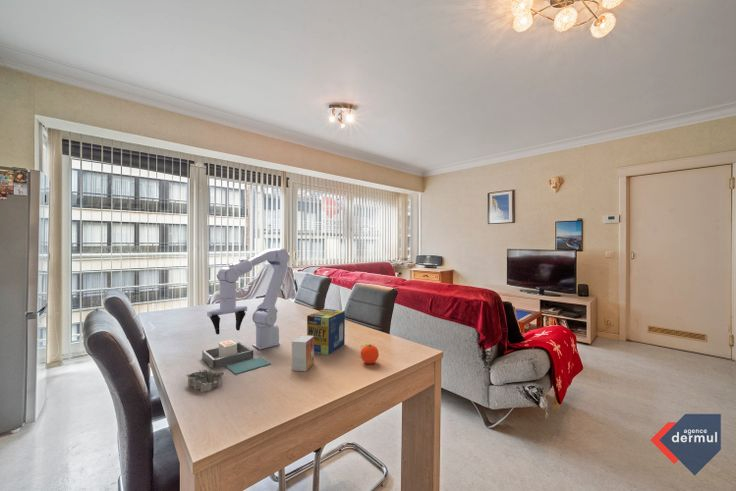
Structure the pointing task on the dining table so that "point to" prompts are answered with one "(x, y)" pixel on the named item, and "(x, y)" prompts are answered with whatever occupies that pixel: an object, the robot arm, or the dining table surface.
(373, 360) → the clementine
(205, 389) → the egg carton
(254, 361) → the mat
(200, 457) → the dining table surface
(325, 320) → the protein box
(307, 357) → the small box
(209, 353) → the bin
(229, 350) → the box
